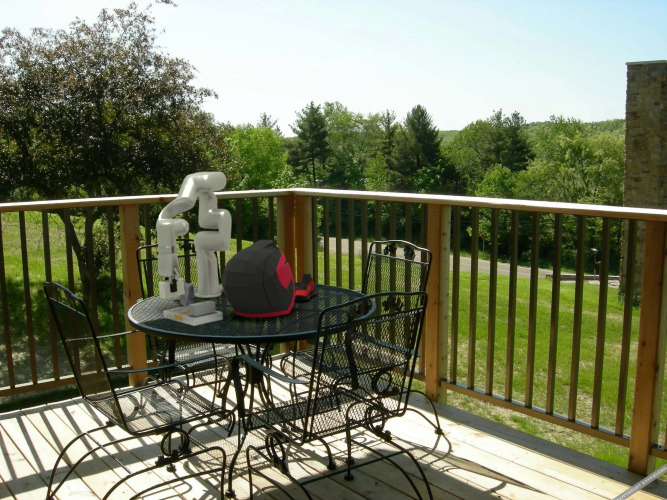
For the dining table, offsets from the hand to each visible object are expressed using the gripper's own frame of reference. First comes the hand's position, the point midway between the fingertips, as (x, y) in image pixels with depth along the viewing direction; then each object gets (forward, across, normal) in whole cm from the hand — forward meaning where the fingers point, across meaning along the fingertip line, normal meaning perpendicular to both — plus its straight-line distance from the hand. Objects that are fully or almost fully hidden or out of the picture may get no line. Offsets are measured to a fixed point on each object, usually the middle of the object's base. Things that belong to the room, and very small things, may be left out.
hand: (170, 290), depth 283 cm
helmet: (+10, +33, +22) cm, 40 cm away
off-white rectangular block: (+2, 0, +1) cm, 2 cm away
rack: (+9, +19, -2) cm, 21 cm away
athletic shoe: (+11, +27, +55) cm, 62 cm away
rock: (+10, -5, +11) cm, 15 cm away
